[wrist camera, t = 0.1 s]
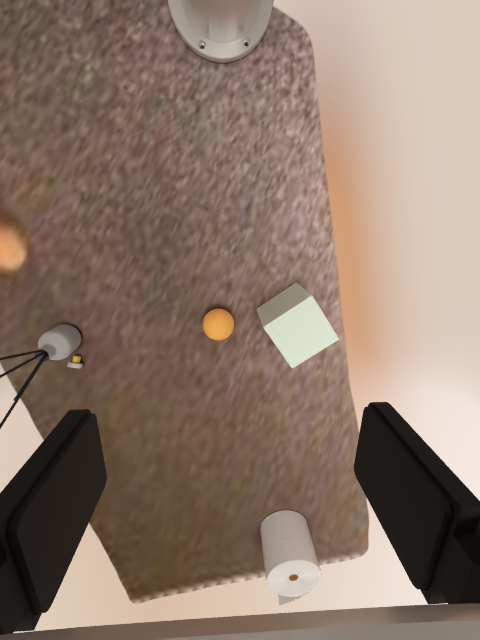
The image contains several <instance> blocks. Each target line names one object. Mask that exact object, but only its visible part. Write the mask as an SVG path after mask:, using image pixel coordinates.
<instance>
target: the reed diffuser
mask: <svg viewBox="0 0 480 640" xmlns="http://www.w3.org/2000/svg"><path fill="white" fill-rule="evenodd" d="M80 343H81V335H80V333H79V331H78V330H77V329H76V328H74V327H73V326H71V325H67V324H62V325H58V326H56V327H54V328H53V329H51V330H49V331H47V332H46V333H44V334H43V335H42V336H41V337H40V339H39V342H38V347H39V349H38V350H37V351H32V352H27V353H22V354H17V355H12V356H7V357H2V358H0V360H4V359H9V358H13V357H18V356H23V355H27V354H32V353H35V357H33V358H31V359H29V360H28V361H26V362H24V363H22V364H20V365H18V366H16V367H15V368H13V369H11V370H9V371H7V372H5V373H4V374H2V375H0V378H1V377H2V376H4V375H6V374H8V373H10V372H12V371H14V370H15V369H17V368H19V367H21V366H23V365H25V364H26V363H28V362H30V361H32V360H34V359H35V358H37V359H38V360H40V361H39V363H38V364H37V366H36V367H35V369H34V370H33V372H32V373H31V375H30V376H29V378H28V379H27V381H26V382H25V384H24V385H23V386H22V388H21V389H20V391H19V392H18V394H17V396H16V397H15V398H14V401H15V402H14V403H13V405H12V407H11V408H10V410H9V411H8V413H7V414H6V416H5V418H4V419H3V421H2V422H1V424H0V428H1V427H2V425H3V424H4V422H5V421H6V419H7V417H8V416H9V414H10V413H11V411H12V410H13V408H14V406H15V405H16V403H17V402H18V400H19V398H20V397H21V395H22V394H23V392H24V391H25V389H26V387H27V386H28V384H29V383H30V381H31V379H32V378H33V376H34V375H35V373H36V372H37V370H38V368H39V367H40V365H41V364H42V362H43V361H47V360H48V359H51V360H61V359H64V358H66V357H68V356H69V355H70V354H71V353H72V352H73V351H74V350H75V349H76V348H77V347H78V346H79V345H80ZM80 360H81V356H74V357H73V360H72V362H68V367H72V368H82V366H83V363H80Z"/></svg>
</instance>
